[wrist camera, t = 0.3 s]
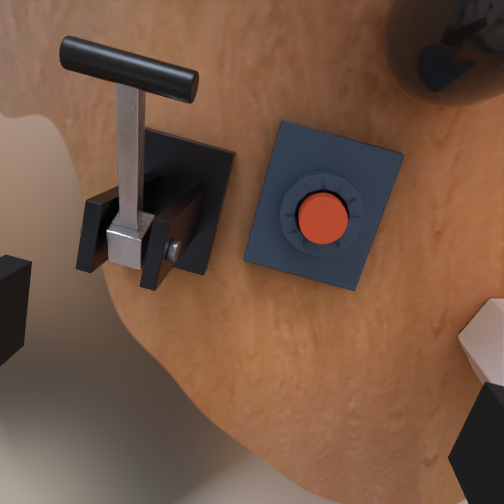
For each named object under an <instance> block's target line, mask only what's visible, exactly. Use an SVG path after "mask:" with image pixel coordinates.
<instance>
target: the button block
mask: <svg viewBox="0 0 504 504" xmlns="http://www.w3.org/2000/svg"><path fill="white" fill-rule="evenodd" d="M403 158H404V154H401V153H398V152H395V151H391V150H388V149H384V148H381V147H377V146H373V145H370V144H366V143H363V142H359V141H355V140H352V139H348V138H345V137H341V136H338V135H334V134H330V133H327V132H323V131H320V130H316V129H312V128H309V127H305V126H302V125H298V124H294V123H291V122H287V121H284V120H282V121H281V124H280V128H279V131H278V135H277V139H276V142H275V146H274V150H273V153H272V157H271V161H270V164H269V168H268V172H267V175H266V179H265V182H264V186H263V190H262V193H261V197H260V201H259V204H258V208H257V212H256V215H255V219H254V223H253V226H252V230H251V234H250V237H249V241H248V244H247V248H246V252H245V255H244V259H243V260H244V261H247V262H251V263H255V264H258V265H262V266H265V267H269V268H273V269H276V270H280V271H283V272H287V273H291V274H294V275H298V276H301V277H305V278H309V279H312V280H316V281H319V282H323V283H327V284H330V285H334V286H338V287H341V288H345V289H348V290H352V291H355V289H356V286H357V284H358V281H359V278H360V275H361V273H362V270H363V267H364V265H365V262H366V259H367V256H368V254H369V251H370V248H371V245H372V243H373V240H374V237H375V234H376V232H377V229H378V226H379V224H380V221H381V218H382V215H383V213H384V210H385V207H386V204H387V202H388V199H389V196H390V194H391V191H392V188H393V185H394V183H395V180H396V177H397V174H398V172H399V169H400V166H401V163H402V161H403ZM322 192H323V193H329V194H332V195H334V196H335V197H337V198H338V199H339V200H340V201H341V203H342V204H343V206H344V208H345V210H346V212H347V216H348V224H347V228H346V230H345V232H344V233H343V235H342V236H341V237H340V238H339V239H337V240H336V241H334V242H332V243H329V244H317V243H314V242H311V241H310V240H308V239H307V238H306V237H305V236H304V235H303V233H302V232H301V230H300V226H299V217H298V214H299V209H300V206H301V204H302V203H303V201H304V200H305V199H306V198H308V197H309V196H311V195H313V194H315V193H322Z"/></svg>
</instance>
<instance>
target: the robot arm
mask: <svg viewBox="0 0 504 504" xmlns="http://www.w3.org/2000/svg"><path fill="white" fill-rule="evenodd" d="M31 265H32V262H31V261H27V260H24V259H20V258H16V257H13V256H9V255H4V256H2V257H0V366H1V365H2V364H4V363H5V362H6V361H7V360H8V359H9V358H10V357H11V356H13V355H14V354H15V353H16V352H17V351H18V350H19V349H20V348H21V347H23V346H24V338H25V327H26V317H27V306H28V297H29V287H30V276H31ZM448 459H449V461H450V464H451V466H452V468H453V470H454V472H455V475H456V477H457V479H458V481H459V484H460V486H461V488H462V490H463V492H464V495H465V497H466V499H467V501H468V503H469V504H504V386H501V385H497V384H493V383H490V382H486V381H485V383H484V385H483V387H482V389H481V391H480V393H479V395H478V397H477V399H476V401H475V403H474V405H473V407H472V409H471V411H470V413H469V415H468V417H467V419H466V421H465V424H464V426H463V428H462V430H461V432H460V434H459V436H458V438H457V440H456V442H455V444H454V446H453V448H452V450H451V452H450V454H449V456H448Z"/></svg>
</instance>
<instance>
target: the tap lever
mask: <svg viewBox="0 0 504 504" xmlns="http://www.w3.org/2000/svg"><path fill="white" fill-rule="evenodd" d="M59 57H60V63H61V65H62V67H63V68H65V69H67V70H70V71H74V72H78V73H81V74H85V75H88V76H92V77H96V78H99V79H103V80H106V81H110V82H113V83H116V115H117V148H118V182H119V211H118V213H117V214H116V216H115V218H114V219H113V221H112V222H111V224H110V226H109V227H108V229H107V230H106V236H107V252H108V261H109V262H111V263H115V264H119V265H122V266H126V267H130V268H133V269H137V270H142V268H143V266H144V262H145V257H146V252H147V247H148V242H149V237H150V232H151V227H152V222H153V219H154V218H155V215H153V214H149V213H145V212H143V183H144V135H145V91H146V92H149V93H153V94H156V95H160V96H164V97H167V98H171V99H174V100H178V101H182V102H185V103H189V104H191V103H192V102H193V101H194V99H195V96H196V93H197V89H198V84H199V73H198V72H197V71H195V70H191V69H188V68H184V67H181V66H177V65H173V64H170V63H166V62H163V61H159V60H156V59H152V58H148V57H145V56H141V55H138V54H134V53H130V52H127V51H123V50H120V49H116V48H113V47H109V46H105V45H102V44H98V43H95V42H91V41H88V40H84V39H80V38H77V37H73V36H66V37H65V38H64V39H63V41H62V43H61V46H60V52H59Z"/></svg>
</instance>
